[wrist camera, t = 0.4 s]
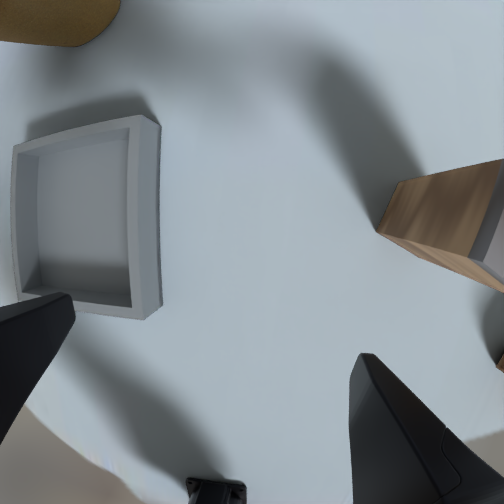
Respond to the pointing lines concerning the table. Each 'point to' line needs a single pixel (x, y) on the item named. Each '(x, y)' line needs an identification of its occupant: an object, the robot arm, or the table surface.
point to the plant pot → (55, 21)
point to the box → (90, 217)
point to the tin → (501, 364)
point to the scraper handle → (453, 220)
